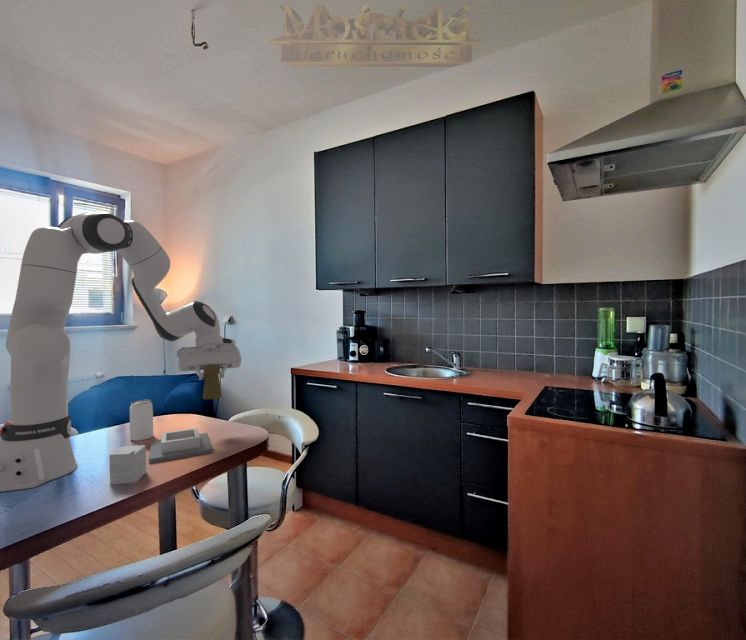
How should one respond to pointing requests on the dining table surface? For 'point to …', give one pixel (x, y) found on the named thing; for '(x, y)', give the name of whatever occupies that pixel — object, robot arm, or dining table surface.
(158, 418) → the dining table surface
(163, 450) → the grey socket base
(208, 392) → the brown flared peg
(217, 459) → the dining table surface
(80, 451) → the dining table surface
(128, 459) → the skincare box
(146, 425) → the can
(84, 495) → the dining table surface
